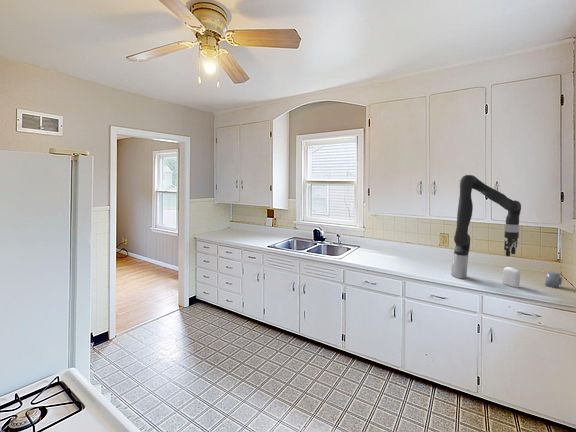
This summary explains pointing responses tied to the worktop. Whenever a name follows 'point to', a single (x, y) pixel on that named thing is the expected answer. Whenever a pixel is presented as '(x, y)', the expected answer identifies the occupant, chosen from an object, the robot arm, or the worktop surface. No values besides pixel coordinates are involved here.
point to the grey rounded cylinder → (553, 279)
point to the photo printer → (511, 277)
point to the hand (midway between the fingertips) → (510, 255)
